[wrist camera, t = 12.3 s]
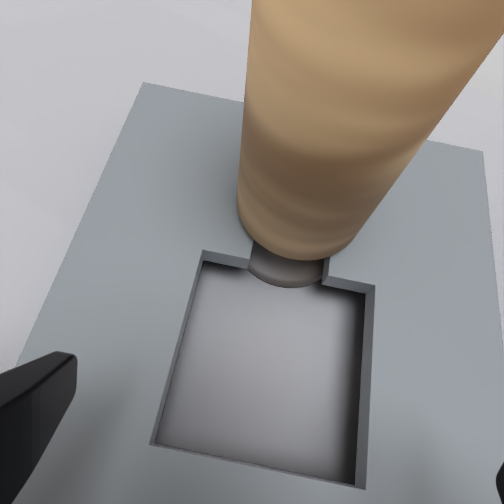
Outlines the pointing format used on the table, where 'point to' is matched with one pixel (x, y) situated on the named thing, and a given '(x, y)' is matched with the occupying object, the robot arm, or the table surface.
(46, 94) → the table surface
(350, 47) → the ribbed peg
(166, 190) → the keyhole plate
